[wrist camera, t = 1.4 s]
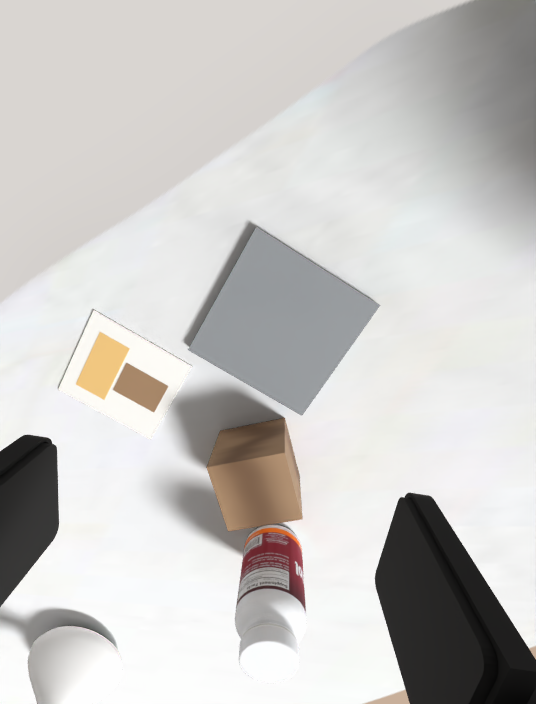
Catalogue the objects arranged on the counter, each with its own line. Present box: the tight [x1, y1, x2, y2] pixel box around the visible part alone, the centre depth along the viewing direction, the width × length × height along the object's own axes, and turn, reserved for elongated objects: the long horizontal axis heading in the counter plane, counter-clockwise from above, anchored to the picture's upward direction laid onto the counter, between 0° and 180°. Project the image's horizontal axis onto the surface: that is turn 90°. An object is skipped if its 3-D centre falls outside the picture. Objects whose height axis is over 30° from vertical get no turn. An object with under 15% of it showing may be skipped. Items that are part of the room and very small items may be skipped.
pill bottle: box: [235, 525, 306, 683], centre depth 31 cm, size 6×6×11 cm
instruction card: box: [58, 310, 192, 440], centre depth 32 cm, size 10×9×1 cm
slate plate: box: [188, 227, 380, 415], centre depth 29 cm, size 12×12×1 cm
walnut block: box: [207, 418, 302, 531], centre depth 31 cm, size 6×6×6 cm
